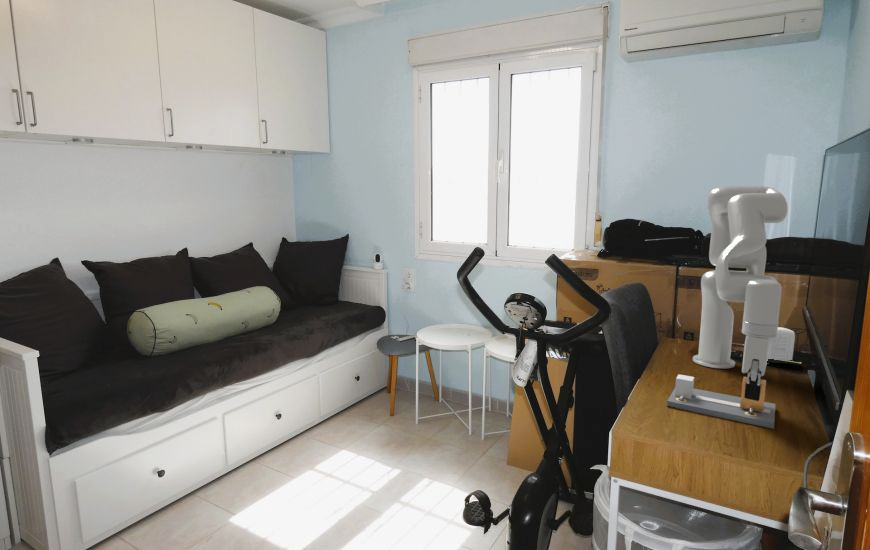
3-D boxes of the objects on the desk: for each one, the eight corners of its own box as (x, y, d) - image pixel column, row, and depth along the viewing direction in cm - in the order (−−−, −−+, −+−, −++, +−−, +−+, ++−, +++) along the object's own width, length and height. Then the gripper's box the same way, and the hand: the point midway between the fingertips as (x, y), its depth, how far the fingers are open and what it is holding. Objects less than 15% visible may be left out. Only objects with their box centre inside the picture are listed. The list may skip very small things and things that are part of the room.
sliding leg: (741, 401, 135) (743, 376, 134) (763, 406, 132) (766, 380, 131) (739, 410, 129) (741, 384, 128) (762, 415, 126) (765, 388, 125)
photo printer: (787, 361, 175) (791, 326, 173) (794, 365, 170) (798, 329, 168) (754, 360, 176) (758, 325, 174) (760, 364, 172) (764, 328, 170)
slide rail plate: (676, 390, 149) (677, 368, 148) (774, 409, 135) (777, 385, 134) (666, 406, 137) (668, 383, 136) (773, 428, 124) (776, 403, 123)
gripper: (744, 319, 138) (738, 379, 141) (739, 334, 124) (733, 401, 127) (777, 323, 134) (771, 385, 137) (776, 339, 120) (769, 408, 123)
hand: (752, 392), depth 132 cm, fingers open, 9 cm apart
